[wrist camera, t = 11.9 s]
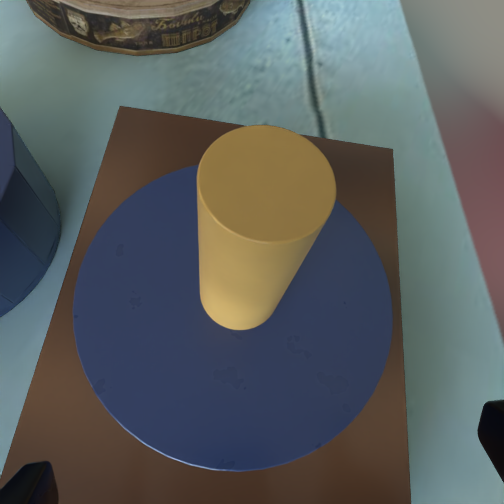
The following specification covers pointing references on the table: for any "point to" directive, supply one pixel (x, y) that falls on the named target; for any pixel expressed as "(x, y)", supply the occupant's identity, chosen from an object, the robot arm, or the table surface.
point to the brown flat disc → (139, 22)
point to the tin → (23, 219)
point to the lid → (235, 307)
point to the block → (154, 463)
